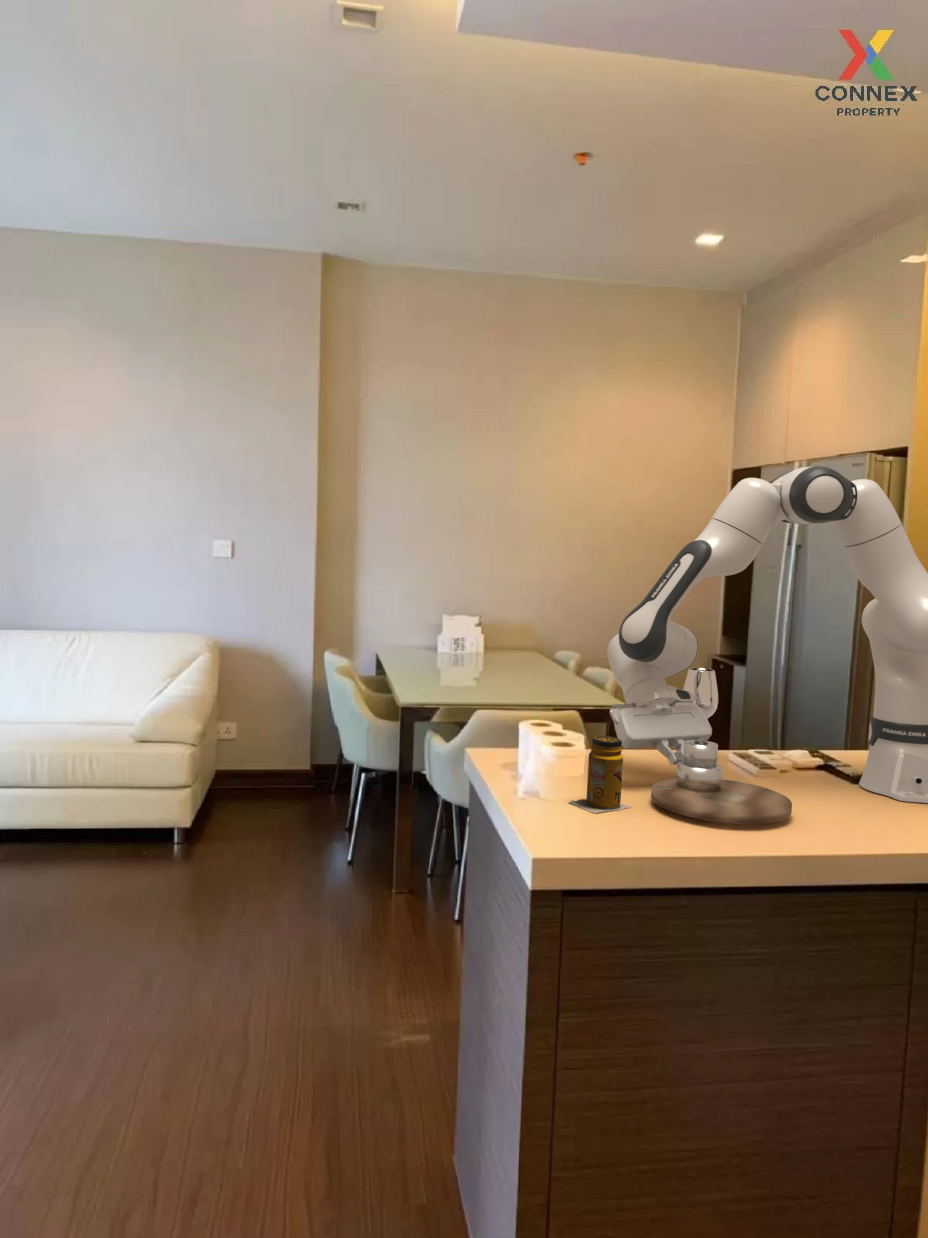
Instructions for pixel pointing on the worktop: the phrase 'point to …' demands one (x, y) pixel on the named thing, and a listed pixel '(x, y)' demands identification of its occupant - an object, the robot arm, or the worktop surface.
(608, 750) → the condiment
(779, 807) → the disc
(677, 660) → the robot arm
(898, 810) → the worktop surface
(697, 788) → the stacked silver spool
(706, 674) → the wineglass
